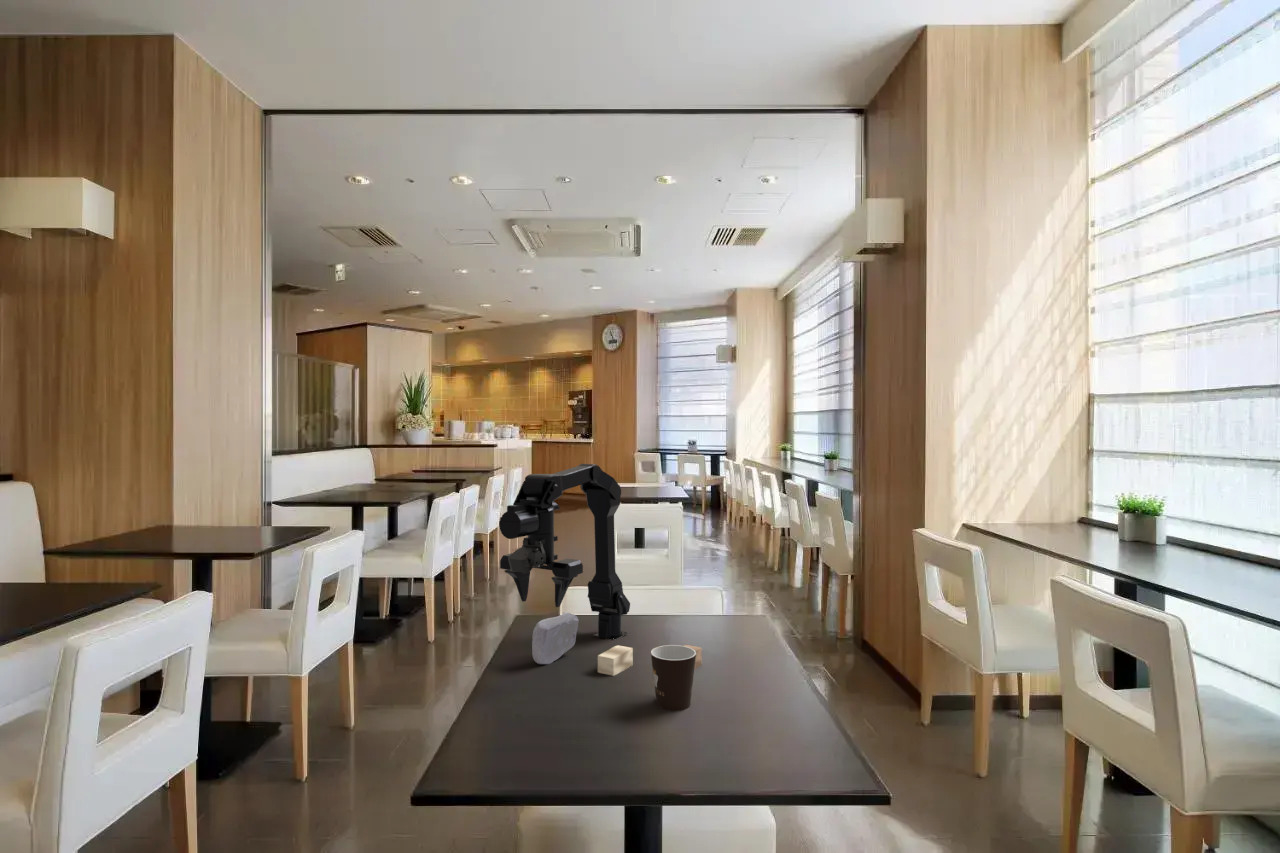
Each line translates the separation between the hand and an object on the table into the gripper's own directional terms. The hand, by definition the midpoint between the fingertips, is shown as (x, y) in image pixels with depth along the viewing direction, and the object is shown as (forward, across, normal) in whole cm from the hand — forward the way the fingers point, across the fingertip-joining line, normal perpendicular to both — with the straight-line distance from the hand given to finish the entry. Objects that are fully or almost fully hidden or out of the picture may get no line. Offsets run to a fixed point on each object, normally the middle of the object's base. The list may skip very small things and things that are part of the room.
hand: (540, 604), depth 149 cm
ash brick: (+14, +14, +8) cm, 22 cm away
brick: (+14, +27, +16) cm, 35 cm away
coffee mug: (+14, +33, -1) cm, 36 cm away
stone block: (+14, 0, +6) cm, 16 cm away
